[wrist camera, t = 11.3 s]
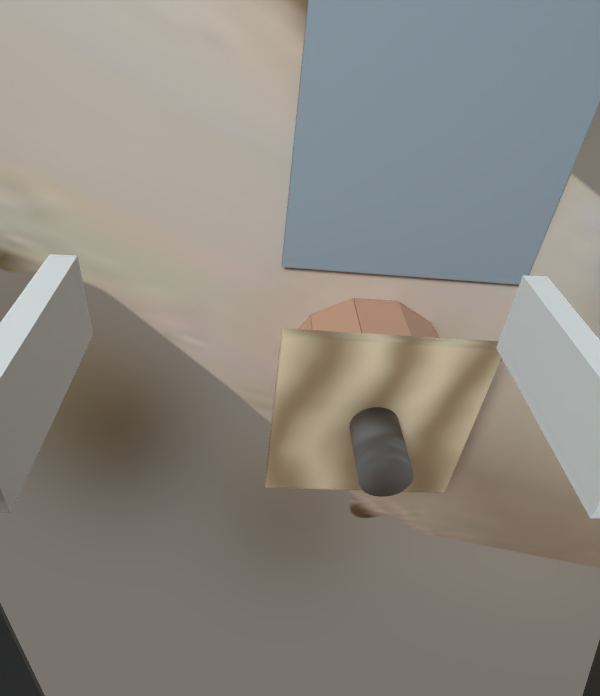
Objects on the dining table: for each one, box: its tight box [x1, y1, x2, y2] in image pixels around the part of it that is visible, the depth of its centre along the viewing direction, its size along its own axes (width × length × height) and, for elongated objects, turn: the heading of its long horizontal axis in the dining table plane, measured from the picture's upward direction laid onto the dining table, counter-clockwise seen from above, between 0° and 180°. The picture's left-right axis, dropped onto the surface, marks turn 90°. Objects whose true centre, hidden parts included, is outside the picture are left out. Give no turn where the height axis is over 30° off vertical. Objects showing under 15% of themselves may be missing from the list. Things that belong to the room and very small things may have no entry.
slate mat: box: [282, 0, 600, 285], centre depth 41 cm, size 22×22×1 cm
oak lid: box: [266, 328, 502, 496], centre depth 45 cm, size 18×18×7 cm
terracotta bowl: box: [299, 299, 438, 338], centre depth 51 cm, size 16×16×7 cm
